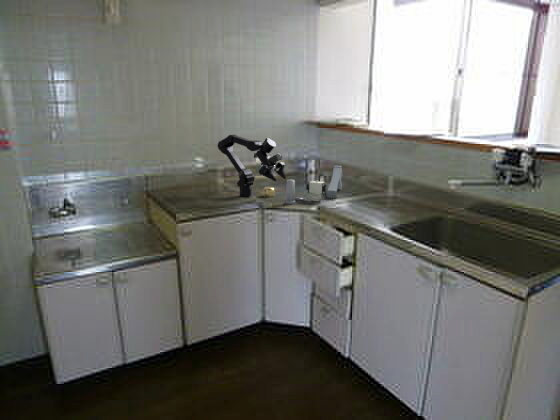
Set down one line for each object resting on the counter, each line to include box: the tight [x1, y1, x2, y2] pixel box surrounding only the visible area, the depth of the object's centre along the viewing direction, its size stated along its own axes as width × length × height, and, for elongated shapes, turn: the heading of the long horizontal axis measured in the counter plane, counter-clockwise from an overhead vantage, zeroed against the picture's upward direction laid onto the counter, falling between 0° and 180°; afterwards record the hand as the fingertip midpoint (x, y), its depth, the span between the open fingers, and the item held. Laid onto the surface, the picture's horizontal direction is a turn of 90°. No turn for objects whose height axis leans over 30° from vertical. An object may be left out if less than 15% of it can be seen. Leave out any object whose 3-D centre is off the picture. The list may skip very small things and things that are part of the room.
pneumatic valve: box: [305, 179, 329, 202], centre depth 218 cm, size 6×12×12 cm, turn 62°
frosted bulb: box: [285, 179, 296, 205], centre depth 212 cm, size 5×5×13 cm
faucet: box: [325, 165, 344, 199], centre depth 240 cm, size 6×17×30 cm
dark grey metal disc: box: [295, 196, 306, 202], centre depth 222 cm, size 7×7×1 cm
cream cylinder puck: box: [263, 186, 275, 198], centre depth 231 cm, size 6×6×5 cm
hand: (280, 179), depth 214 cm, fingers open, 9 cm apart
